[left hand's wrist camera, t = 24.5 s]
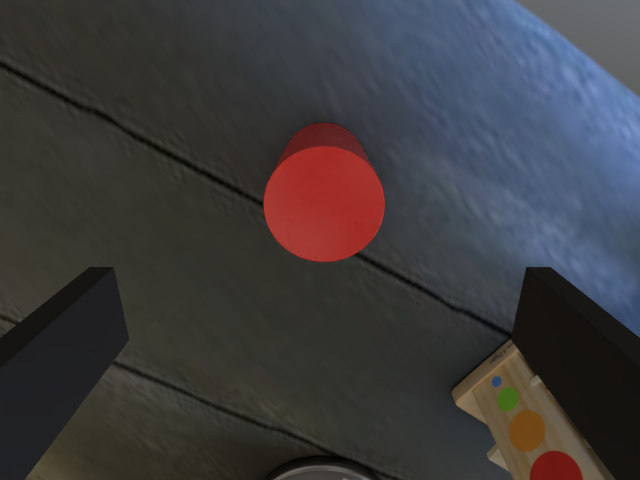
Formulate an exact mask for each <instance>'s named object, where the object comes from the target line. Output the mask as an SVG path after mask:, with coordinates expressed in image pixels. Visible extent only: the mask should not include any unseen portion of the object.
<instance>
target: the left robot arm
mask: <svg viewBox="0 0 640 480" xmlns="http://www.w3.org/2000/svg"><path fill="white" fill-rule="evenodd" d="M128 341H129V336H128V332H127V327H126V323H125V318H124V313H123V309H122V304H121V299H120V295H119V290H118V285H117V281H116V276H115V272H114V267H89V268H88V269H87V270H85V271H84V272H83V273H82V274H80V275H79V276H78V277H77V278H75V279H74V280H73V281H71V282H70V283H69V284H68V285H66V286H65V287H64V288H63V289H61V290H60V291H59V292H58V293H56V294H55V295H54V296H53V297H51V298H50V299H49V300H48V301H46V302H45V303H44V304H42V305H41V306H40V307H39V308H37V309H36V310H35V311H34V312H32V313H31V314H30V315H29V316H27V317H26V318H25V319H24V320H22V321H21V322H20V323H19V324H17V325H16V326H15V327H14V328H12V329H11V330H10V331H8V332H7V333H6V334H5V335H3V336H2V337H1V338H0V480H25V478H26V477H27V476H28V474H29V473H30V472H31V470H32V469H33V468H34V466H35V465H36V464H37V462H38V461H39V460H40V458H41V457H42V456H43V454H44V453H45V452H46V450H47V449H48V448H49V446H50V445H51V444H52V442H53V441H54V440H55V438H56V437H57V436H58V434H59V433H60V432H61V430H62V429H63V428H64V426H65V425H66V424H67V422H68V421H69V420H70V418H71V417H72V416H73V414H74V413H75V412H76V410H77V409H78V407H79V406H80V405H81V403H82V402H83V401H84V399H85V398H86V397H87V395H88V394H89V393H90V391H91V390H92V389H93V387H94V386H95V385H96V383H97V382H98V381H99V379H100V378H101V377H102V375H103V374H104V373H105V371H106V370H107V369H108V367H109V366H110V365H111V363H112V362H113V361H114V359H115V358H116V357H117V355H118V354H119V353H120V351H121V350H122V349H123V347H124V346H125V345H126V343H127V342H128ZM511 341H512V342H513V343H514V345H515V346H516V347H517V349H518V350H519V351H520V353H521V354H522V355H523V357H524V358H525V359H526V361H527V362H528V363H529V365H530V366H531V367H532V369H533V370H534V371H535V373H536V374H537V375H538V377H539V378H540V379H541V381H542V382H543V383H544V385H545V386H546V387H547V389H548V390H549V391H550V393H551V394H552V395H553V397H554V398H555V399H556V401H557V402H558V403H559V405H560V406H561V407H562V409H563V410H564V412H565V413H566V414H567V416H568V417H569V418H570V420H571V421H572V422H573V424H574V425H575V426H576V428H577V429H578V430H579V432H580V433H581V434H582V436H583V437H584V438H585V440H586V441H587V442H588V444H589V445H590V446H591V448H592V449H593V450H594V452H595V453H596V454H597V456H598V457H599V458H600V460H601V461H602V462H603V464H604V465H605V466H606V468H607V469H608V470H609V472H610V473H611V474H612V476H613V477H614V478H615V480H640V338H639V337H638V336H637V335H635V334H634V333H633V332H632V331H630V330H629V329H628V328H626V327H625V326H624V325H623V324H621V323H620V322H619V321H618V320H616V319H615V318H614V317H613V316H611V315H610V314H609V313H608V312H606V311H605V310H604V309H603V308H601V307H600V306H599V305H598V304H596V303H595V302H594V301H592V300H591V299H590V298H589V297H587V296H586V295H585V294H584V293H582V292H581V291H580V290H579V289H577V288H576V287H575V286H574V285H572V284H571V283H570V282H569V281H567V280H566V279H565V278H563V277H562V276H561V275H560V274H558V273H557V272H556V271H555V270H553V269H552V268H551V267H526V272H525V276H524V281H523V285H522V290H521V295H520V299H519V304H518V309H517V313H516V318H515V322H514V327H513V332H512V336H511ZM265 480H380V479H379V478H378V477H377V476H376V475H375V474H374V473H372V472H371V471H370V470H368V469H366V468H365V467H363V466H361V465H359V464H356V463H354V462H351V461H347V460H343V459H338V458H330V457H314V458H306V459H301V460H297V461H293V462H290V463H288V464H285V465H283V466H281V467H279V468H278V469H276V470H275V471H273V472H272V473H271V474H270V475H268V476H267V477H266V479H265Z"/></svg>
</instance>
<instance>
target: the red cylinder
mask: <svg viewBox="0 0 640 480" xmlns="http://www.w3.org/2000/svg"><path fill="white" fill-rule="evenodd" d="M263 205H264V214H265V219H266V222H267V224H268V227H269V229H270V231H271V233H272V234H273V236H274V237H275V239H276V240H277V241H278V242H279V243H280V244H281V245H282V246H283V247H284V248H285V249H287V250H288V251H290V252H291V253H293V254H295V255H297V256H299V257H301V258H304V259H307V260H311V261H318V262H331V261H337V260H341V259H344V258H347V257H350V256H352V255H354V254H355V253H357V252H359V251H360V250H361V249H363V248H364V247H365V246H366V245H367V244H368V243H369V242H370V241H371V240H372V239H373V238H374V236H375V235H376V233H377V231H378V229H379V227H380V225H381V223H382V220H383V216H384V210H385V198H384V192H383V188H382V185H381V182H380V180H379V178H378V176H377V174H376V173H375V171H374V169H373V167H372V165H371V163H370V162H369V160H368V158H367V156H366V154H365V152H364V151H363V149H362V147H361V145H360V143H359V141H358V140H357V139H356V137H355V136H354V135H353V134H352V133H350V132H349V131H348V130H346V129H345V128H343V127H341V126H339V125H336V124H332V123H316V124H312V125H309V126H307V127H305V128H303V129H301V130H300V131H298V132H297V133H296V134H295V135H294V136H293V137H292V138H291V140H290V141H289V142H288V144H287V146H286V148H285V150H284V152H283V154H282V156H281V158H280V160H279V162H278V164H277V165H276V167H275V169H274V171H273V173H272V175H271V177H270V179H269V181H268V183H267V186H266V189H265V194H264V204H263Z"/></svg>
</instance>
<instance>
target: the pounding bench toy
mask: <svg viewBox="0 0 640 480" xmlns="http://www.w3.org/2000/svg"><path fill="white" fill-rule="evenodd" d="M452 396H453V398H454V401H455V403H456V405H457V406H458V407H460V408H461V409H463V410H464V411H466V412H468V413H469V414H471V415H472V416H474V417H476V418H477V419H479V420H480V421H482V422H484V423H485V424H487V425H488V427H489V429H490V431H491V433H492V435H493V438H494V440H495V442H496V444H495V445H494V446H493V447H492V448H491V449H490V450H489V452H488V453H487V457H488V458H489V460H491V461H493V462H494V463H496V464H498V465H499V466H501V467H503V468H504V469H506V470H508V471H509V472H510V473H511V475H512V478H513V480H615V478H614V477H613V476H612V474H611V473H610V472H609V470H608V469H607V468H606V466H605V465H604V464H603V462H602V461H601V460H600V458H599V457H598V456H597V454H596V453H595V452H594V450H593V449H592V448H591V446H590V445H589V444H588V442H587V441H586V440H585V438H584V437H583V436H582V434H581V433H580V432H579V430H578V429H577V428H576V426H575V425H574V424H573V422H572V421H571V420H570V418H569V417H568V416H567V414H566V413H565V412H564V410H563V409H562V407H561V406H560V405H559V403H558V402H557V401H556V399H555V398H554V397H553V395H552V394H551V393H550V391H549V390H548V389H547V387H546V386H545V385H544V383H543V382H542V381H541V379H540V378H539V377H538V375H537V374H536V373H535V371H534V370H533V369H532V367H531V366H530V365H529V363H528V362H527V361H526V359H525V358H524V357H523V355H522V354H521V353H520V351H519V350H518V349H517V347H516V346H515V345H514V343H513V342H512V341H511V339H510V340H509V341H507V342H506V343H505V344H504V345H503V346H502V347H500V348H499V349H498V350H497V351H496V352H495V353H494V354H492V355H491V356H490V357H489V358H488V359H487V360H486V361H484V362H483V363H482V364H481V365H480V366H479V367H477V368H476V369H475V370H474V371H473V372H472V373H471V374H470V375H468V376H467V377H466V378H465V379H464V380H463V381H461V382H460V383H459V384H458V385H457V386H456V387H455V388H454V389H453V390H452Z"/></svg>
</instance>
